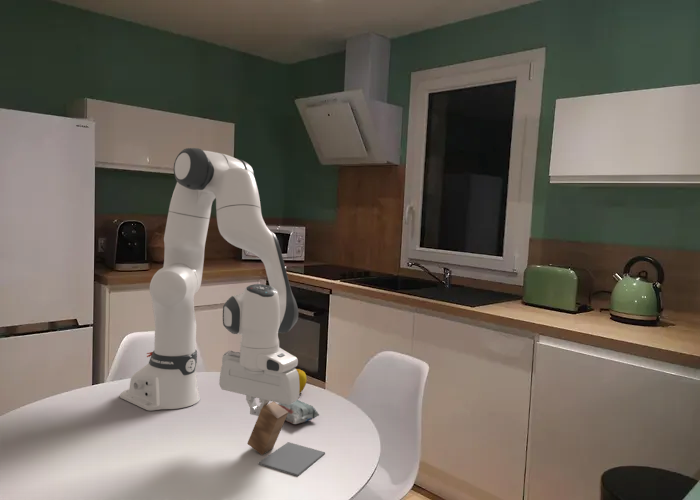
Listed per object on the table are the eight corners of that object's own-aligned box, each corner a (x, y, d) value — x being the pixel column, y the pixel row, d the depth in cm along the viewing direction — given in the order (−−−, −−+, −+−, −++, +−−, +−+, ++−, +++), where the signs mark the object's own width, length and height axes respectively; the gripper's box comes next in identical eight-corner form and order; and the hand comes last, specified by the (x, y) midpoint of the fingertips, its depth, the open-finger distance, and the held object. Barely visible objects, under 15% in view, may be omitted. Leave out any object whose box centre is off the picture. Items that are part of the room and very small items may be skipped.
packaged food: (295, 431, 132) (296, 412, 132) (265, 417, 140) (266, 399, 139) (319, 423, 138) (320, 404, 138) (290, 410, 146) (291, 392, 146)
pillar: (246, 444, 119) (262, 407, 117) (258, 437, 123) (273, 401, 121) (261, 456, 118) (277, 418, 115) (272, 448, 122) (288, 412, 120)
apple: (285, 389, 162) (286, 363, 162) (305, 389, 163) (306, 364, 163) (284, 396, 156) (286, 370, 156) (306, 396, 157) (307, 370, 156)
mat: (258, 464, 114) (258, 462, 114) (288, 443, 124) (288, 442, 124) (297, 476, 109) (297, 474, 109) (325, 453, 120) (325, 452, 120)
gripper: (214, 352, 121) (212, 410, 122) (289, 366, 113) (286, 429, 114) (231, 346, 127) (229, 402, 128) (304, 360, 118) (301, 419, 119)
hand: (257, 414), depth 121 cm, fingers closed
